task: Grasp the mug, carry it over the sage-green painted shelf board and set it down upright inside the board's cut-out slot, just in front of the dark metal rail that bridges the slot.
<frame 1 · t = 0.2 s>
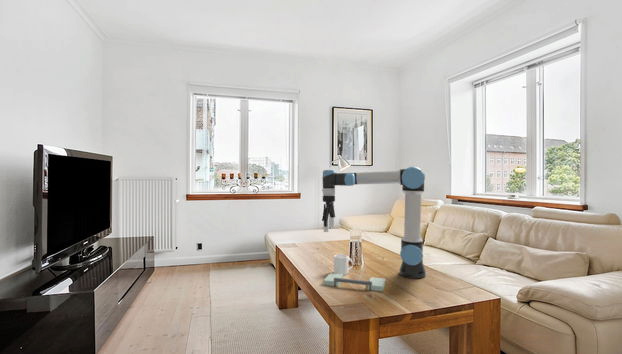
hand: (328, 229, 196), 27 cm above the table, fingers open, 13 cm apart
mug: (343, 273, 197), on the table
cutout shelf: (354, 283, 179), on the table
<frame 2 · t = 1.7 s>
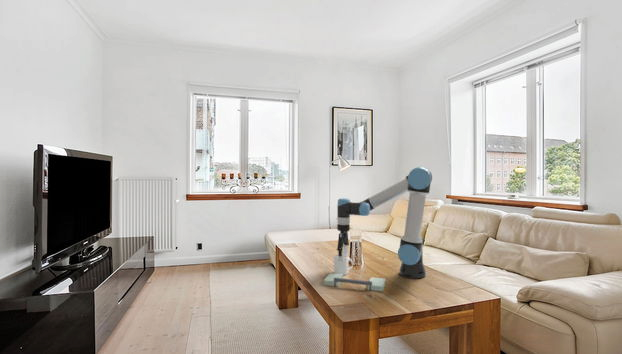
hand: (343, 258, 197), 9 cm above the table, fingers open, 13 cm apart
nothing on the table moved.
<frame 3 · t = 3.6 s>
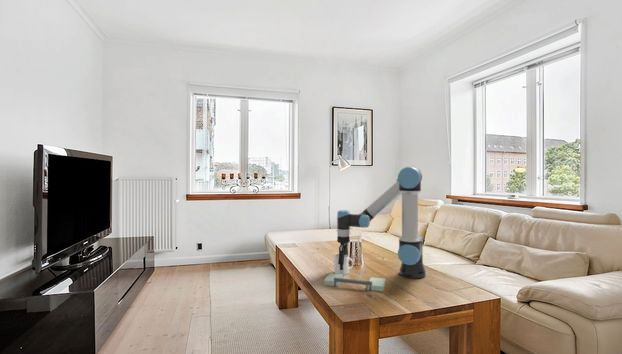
hand: (343, 272, 197), 0 cm above the table, fingers closed on mug, 9 cm apart
mug: (344, 273, 198), on the table, touching gripper
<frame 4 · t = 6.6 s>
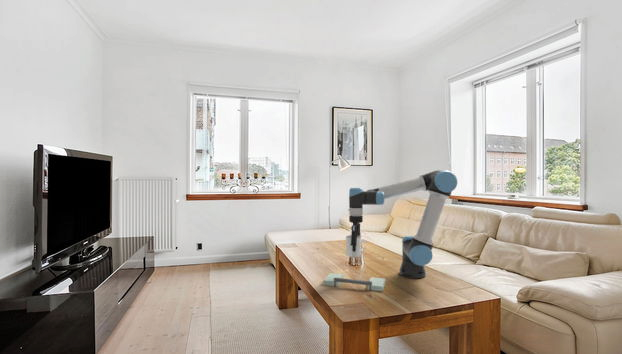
hand: (356, 254, 182), 15 cm above the table, fingers closed on mug, 9 cm apart
mug: (356, 255, 183), point 14 cm above the table, touching gripper
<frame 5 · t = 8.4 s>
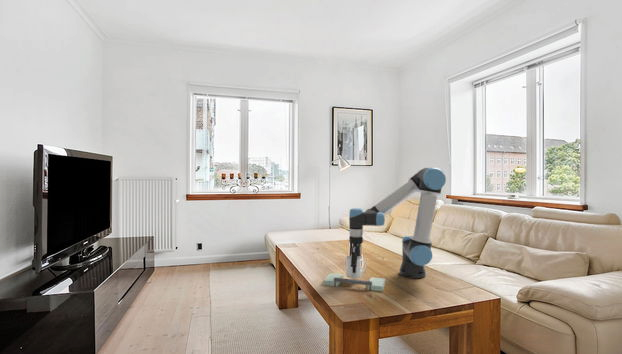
hand: (356, 275, 183), 3 cm above the table, fingers closed on mug, 9 cm apart
mug: (356, 276, 183), point 3 cm above the table, touching gripper
when the fingers open (2 cm above the table, at t = 9.7 s): mug drops 1 cm, on the table.
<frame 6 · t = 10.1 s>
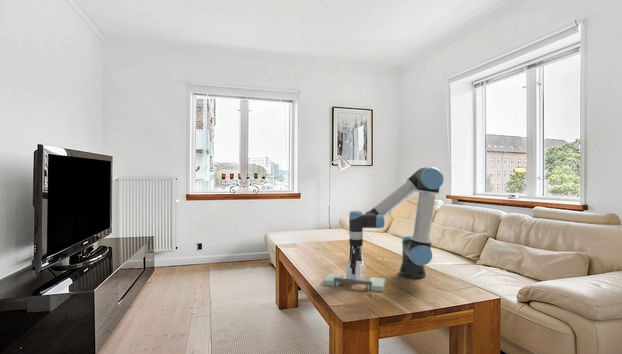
hand: (356, 275, 183), 3 cm above the table, fingers open, 13 cm apart
mug: (356, 281, 183), on the table
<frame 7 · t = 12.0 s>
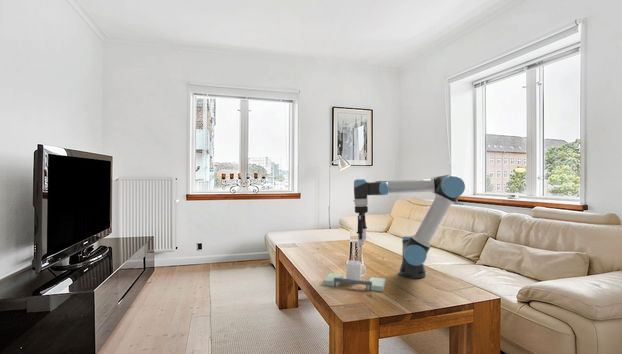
hand: (362, 242, 187), 21 cm above the table, fingers open, 13 cm apart
nothing on the table moved.
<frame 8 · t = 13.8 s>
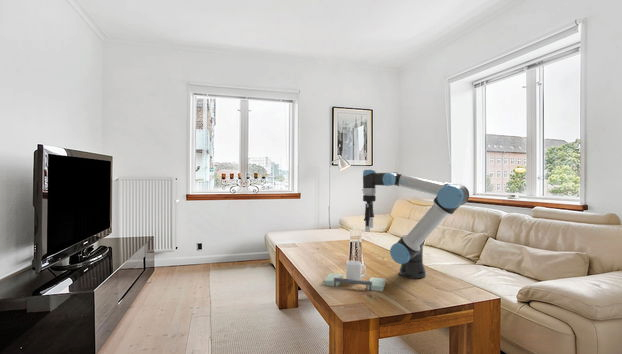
hand: (369, 229, 197), 27 cm above the table, fingers open, 13 cm apart
nothing on the table moved.
at the end: mug inside the target area (0.3 cm from its centre), on the table; mug tilted 0°; the gripper is holding nothing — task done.
